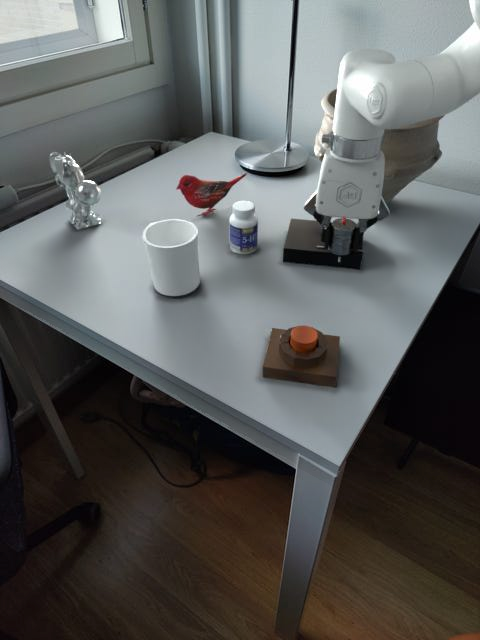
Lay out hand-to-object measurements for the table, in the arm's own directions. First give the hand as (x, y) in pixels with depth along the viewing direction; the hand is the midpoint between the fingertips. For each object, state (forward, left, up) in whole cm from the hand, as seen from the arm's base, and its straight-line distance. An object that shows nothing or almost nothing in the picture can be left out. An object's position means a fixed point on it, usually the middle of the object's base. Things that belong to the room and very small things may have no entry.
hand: (340, 245), depth 82 cm
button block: (+4, +26, -4) cm, 27 cm away
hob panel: (+3, -3, -4) cm, 5 cm away
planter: (-5, -24, -4) cm, 25 cm away
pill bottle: (+18, -2, -4) cm, 19 cm away
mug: (+28, +11, -4) cm, 30 cm away
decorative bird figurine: (+27, -15, -4) cm, 31 cm away
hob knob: (0, 0, -1) cm, 1 cm away
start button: (+4, +26, 0) cm, 26 cm away
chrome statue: (+52, -5, -4) cm, 52 cm away
